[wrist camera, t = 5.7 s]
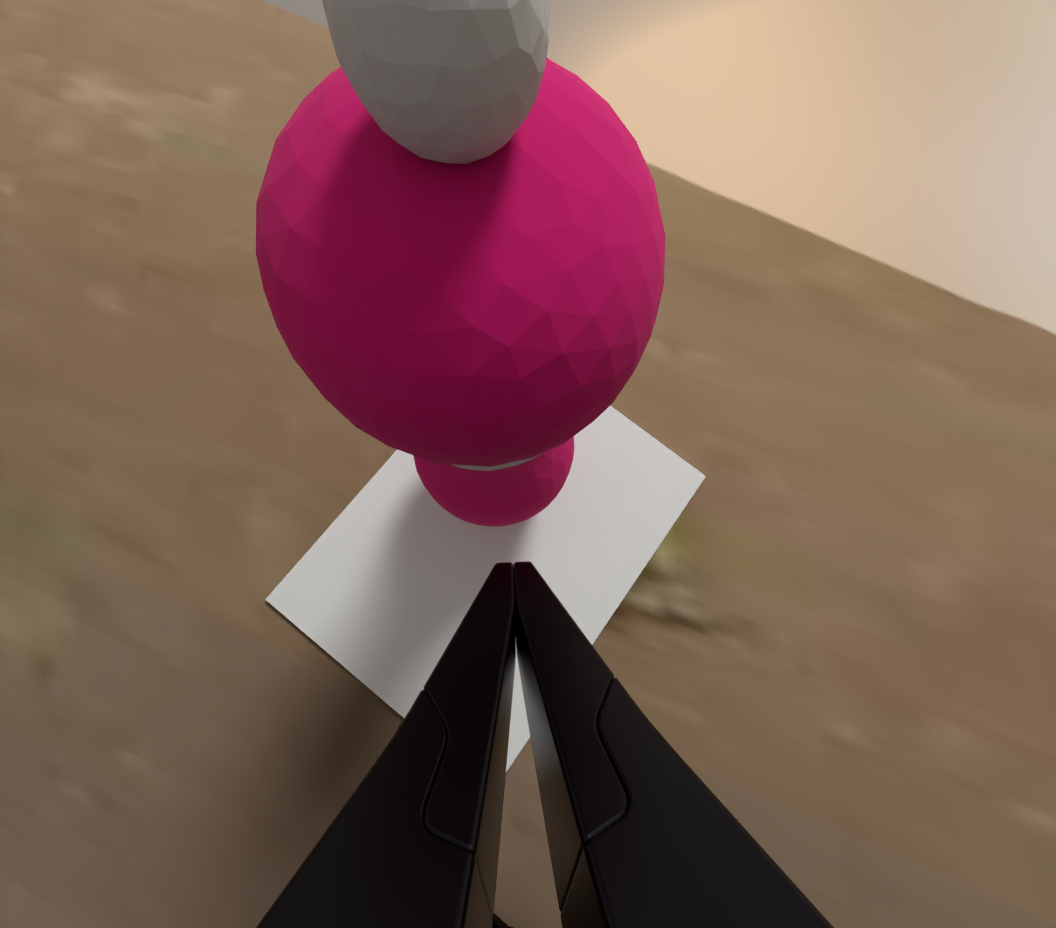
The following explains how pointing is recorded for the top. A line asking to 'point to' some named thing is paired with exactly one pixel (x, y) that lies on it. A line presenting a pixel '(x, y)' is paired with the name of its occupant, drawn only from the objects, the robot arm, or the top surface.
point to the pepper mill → (461, 246)
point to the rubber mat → (480, 559)
